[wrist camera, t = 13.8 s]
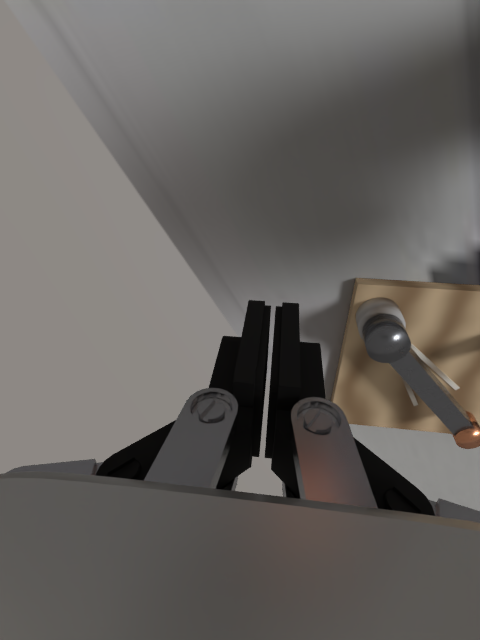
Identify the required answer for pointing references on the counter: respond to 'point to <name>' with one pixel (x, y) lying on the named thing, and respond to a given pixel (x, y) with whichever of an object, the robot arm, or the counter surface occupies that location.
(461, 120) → the counter surface
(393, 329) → the lever
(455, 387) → the base
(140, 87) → the counter surface
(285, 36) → the counter surface
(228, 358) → the robot arm
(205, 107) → the counter surface
